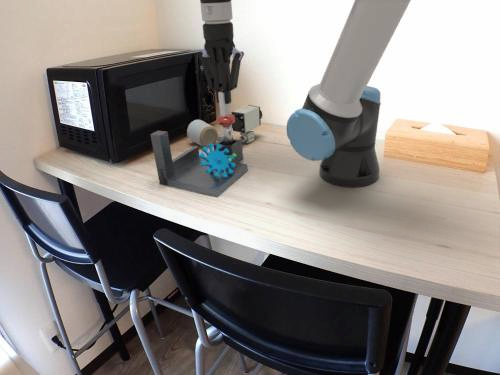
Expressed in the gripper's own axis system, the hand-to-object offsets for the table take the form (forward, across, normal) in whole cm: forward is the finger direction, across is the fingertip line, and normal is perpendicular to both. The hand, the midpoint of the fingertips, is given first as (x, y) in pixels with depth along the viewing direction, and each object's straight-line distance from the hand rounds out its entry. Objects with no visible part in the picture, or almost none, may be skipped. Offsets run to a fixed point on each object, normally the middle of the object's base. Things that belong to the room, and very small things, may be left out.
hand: (225, 114), depth 102 cm
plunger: (+10, 0, 0) cm, 10 cm away
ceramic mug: (+15, -15, +10) cm, 23 cm away
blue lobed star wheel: (+12, +4, -11) cm, 17 cm away
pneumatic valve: (+14, -3, +16) cm, 22 cm away
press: (+14, -1, -8) cm, 17 cm away
